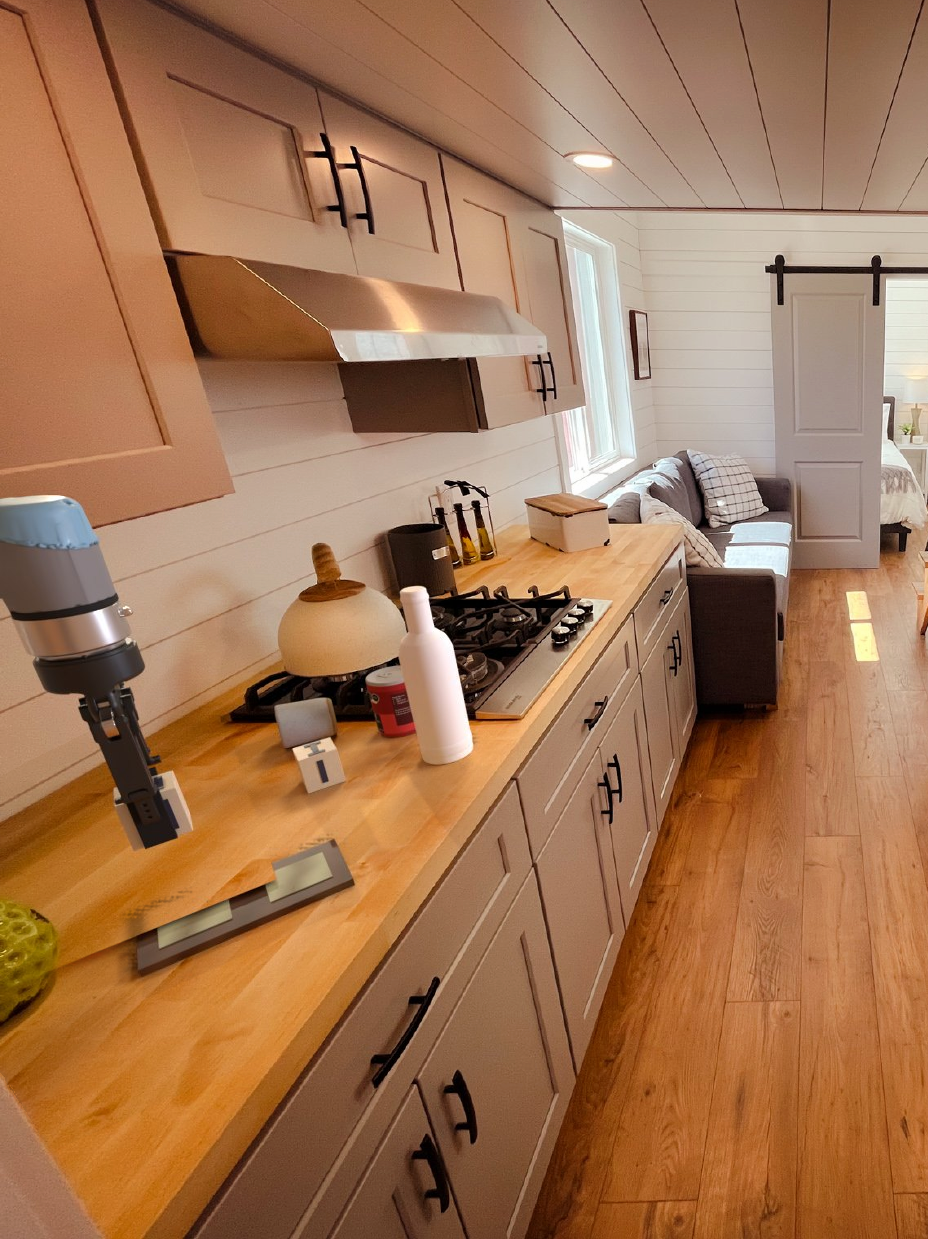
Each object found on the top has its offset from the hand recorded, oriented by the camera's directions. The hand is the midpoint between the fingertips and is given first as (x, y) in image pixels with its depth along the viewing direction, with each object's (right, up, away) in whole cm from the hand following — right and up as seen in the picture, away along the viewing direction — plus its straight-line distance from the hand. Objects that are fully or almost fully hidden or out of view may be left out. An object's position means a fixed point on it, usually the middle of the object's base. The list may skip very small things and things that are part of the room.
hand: (159, 829), depth 78 cm
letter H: (0, 0, 0) cm, 0 cm away
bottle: (+11, +1, +39) cm, 40 cm away
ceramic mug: (-16, +3, +43) cm, 46 cm away
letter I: (-4, -2, +31) cm, 31 cm away
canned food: (-1, +4, +47) cm, 47 cm away
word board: (+5, -11, +6) cm, 14 cm away
